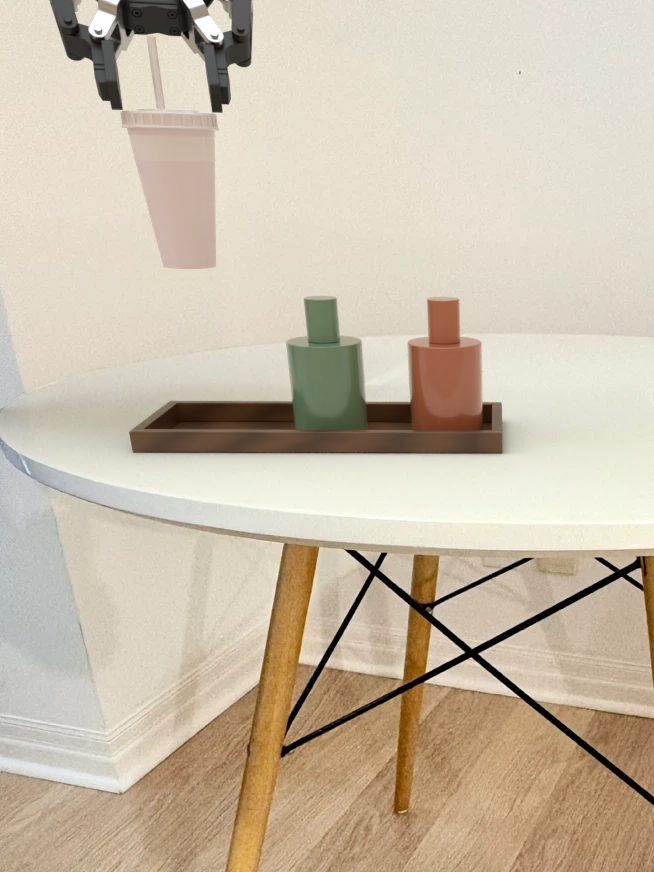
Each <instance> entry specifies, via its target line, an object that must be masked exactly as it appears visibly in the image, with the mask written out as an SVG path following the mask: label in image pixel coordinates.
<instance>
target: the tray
mask: <svg viewBox="0 0 654 872" xmlns="http://www.w3.org/2000/svg"><path fill="white" fill-rule="evenodd" d="M366 405H367V419H368V430H295V423H294V414H293V404H292V400H290V401H289V400H169V401H168V402H167V403H165V404H164V405H163V406H161V407H160V408H159V409H157V410H156V411H155V412H153V413H152V414H151V415H149V416H148V417H147V418H145V419H143V420H142V421H141V422H139V423H138V424H137V425H135V426H134V427H133V428H131V429H130V430H129V432H128V434H129V439H130V445H131V450H132V454H363V455H364V454H366V455H367V454H369V455H371V454H373V455H375V454H379V455H380V454H386V455H387V454H389V455H390V454H398V455H399V454H400V455H401V454H402V455H403V454H404V455H405V454H406V455H407V454H408V455H409V454H410V455H411V454H412V455H413V454H414V455H415V454H418V455H419V454H420V455H422V454H424V455H428V454H429V455H431V454H432V455H434V454H435V455H436V454H437V455H447V454H448V455H503V403H502V401H483V430H411V410H410V401H366Z"/></svg>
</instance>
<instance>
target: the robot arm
mask: <svg viewBox="0 0 654 872" xmlns="http://www.w3.org/2000/svg"><path fill="white" fill-rule="evenodd" d="M48 1H49V4H50V7H51V10H52V13H53V17H54V19H55V23H56V25H57V29H58V32H59V35H60V38H61V42H62V45H63V48H64V51H65V55H66V56H67V58H68V59H70V60H71V61H75V62H80V61H83V60H84V59H88V60H90V61H91V62H92V65H93V72H94V73H93V74H94V80H95V84H96V89H97V93H98V96H99V98H100V99H101V101H103V102H109V103H110V108H111V111H124V108H123V100H122V99H123V98H122V92H121V91H122V89H121V84H120V83H121V82H120V76H119V69H118V63H117V61H118V58H119V57H120V55H121V53H122V51H123V52H127V50H128V48H129V46H130V44H131V42H132V40H133V38H134V36H135V35H139V36H140V35H141V36H149V35H155V34H160V35H164V36H168V37H181V38H182V39H183V41H184V42H185V44H186V45H187V46H188V47H189V49H190V50H191V52H192V53H193V54H194V55H198V56H199V57H200V58H201V60H202V61H203V62H204V66H205V75H206V81H207V86H208V95H209V101H210V107H211V114H223V105H230V103H231V101H232V95H231V94H232V93H231V81H230V75H229V69H228V68H229V67H230V66H231V65H234V64H235V65H236V66H238V67H240V68H248V67H250V66H251V65H252V60H253V59H252V58H253V57H252V56H253V55H252V54H253V27H254V25H253V24H254V1H253V0H218V1H219V2H220V3H221V5H222V9H223V11H224V12H226V13H227V14H228V18H229V20H231V25H230V29H231V30H227V31H222V29H220V27H219V26H218V25H217V23H216V22H215V21H214V19H213V18H212V16H211V15H210V13H209V10H208V9H209V8H210V7H211V6H212V4H213V3H214V1H215V0H95V1H96V3H97V4H98V5H97V10H96V13H95V14H94V16H93V18H92V20H91V22H90V23H89V25H87V24H82V23H79V20H78V17H77V14H76V13H77V12H78V11H79V7H78V6H80V5H81V3H82V0H48Z"/></svg>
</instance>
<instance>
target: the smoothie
mask: <svg viewBox="0 0 654 872" xmlns="http://www.w3.org/2000/svg"><path fill="white" fill-rule="evenodd" d="M156 40H157V39H156V36H153V35H151V36H150V35H146V42H147V49H148V57H149V63H150V71H151V72H150V73H151V78H152V85H153V93H154V100H155V104H156V105H155V106H156V107H155V108H137V109H136V110H120V118H121V124H122V125H121V128H122V129H126V131H127V134H128V137H129V141H130V147H131V149H132V154H133V158H134V161H135V165H136V169H137V171H138V175H139V179H140V183H141V187H142V190H143V193H144V198H145V202H146V206H147V210H148V214H149V217H150V222H151V225H152V229H153V232H154V233H153V234H154V236H155V240H156V244H157V247H158V251H159V252H158V253H159V255H160V259H161V263H162V266H163V268H166V269H172V270H173V269H176V270H202V269H213V268H216V267H217V240H216V239H217V237H216V236H217V234H216V233H217V232H216V229H217V227H216V224H217V223H216V146H215V145H216V144H215V137H216V134H215V133H216V132H217V131H218V132H219V131H220V128H219V127H218V126H219V125H218V119H217V118H218V117H217V115H216V113H209V112H208V113H206V112H199V111H198V110H191V109H190V110H185V109H166V106H165V104H166V103H165V98H164V89H163V83H162V76H161V69H160V62H159V53H158V47H157V41H156Z"/></svg>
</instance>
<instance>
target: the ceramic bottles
mask: <svg viewBox="0 0 654 872" xmlns="http://www.w3.org/2000/svg"><path fill="white" fill-rule="evenodd" d="M460 303H461V302H460V298H458V297H452V296H433V297H427V298H426V311H427V312H426V313H427V334H428V335H427V336H421V337H416V338H412V339H409V340H408V341H407V342H406V348H407V349H406V350H407V368H408V369H407V370H408V387H409V388H408V389H409V402H410V410H411V430H483V402H484V400H483V399H484V397H483V395H484V393H483V392H484V391H483V389H484V388H483V343H482V342H483V341H481V340H480V339H478V338H474V337H469V336H468V337H467V336H461V310H460V306H461V305H460ZM303 306H304V316H305V326H306V335H305V336H297V337H293V338H289V339H287V340H286V341H285V346H286V356H287V367H288V375H289V385H290V394H291V401H292V404H293V414H294V423H295V430H368V419H367V405H366V402H367V393H366V377H365V366H364V365H365V364H364V349H363V341H362V339H361V338H358V337H356V336H349V335H341V332H340V320H339V319H340V318H339V307H338V306H339V305H338V298H337V297H336V296H333V295H309V296H305V297H303Z"/></svg>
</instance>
